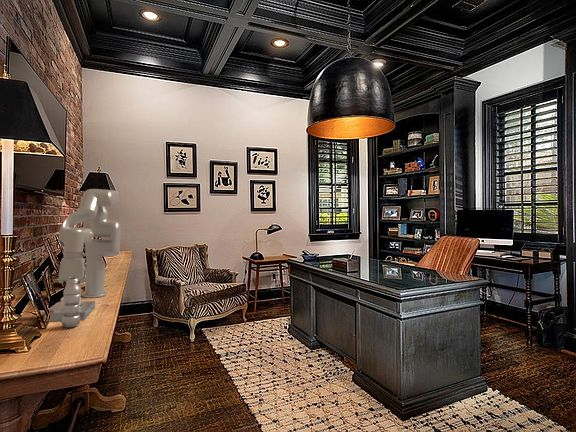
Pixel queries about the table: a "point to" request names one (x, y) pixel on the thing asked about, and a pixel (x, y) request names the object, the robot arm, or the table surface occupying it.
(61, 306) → the plug
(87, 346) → the table surface
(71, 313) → the plastic bottle
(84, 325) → the table surface
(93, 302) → the socket
